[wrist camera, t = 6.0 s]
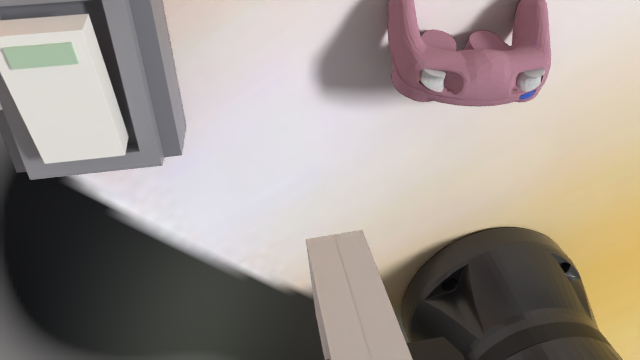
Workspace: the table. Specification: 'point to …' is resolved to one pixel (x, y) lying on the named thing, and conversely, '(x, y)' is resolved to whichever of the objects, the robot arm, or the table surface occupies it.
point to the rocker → (62, 87)
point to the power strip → (127, 82)
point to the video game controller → (469, 59)
